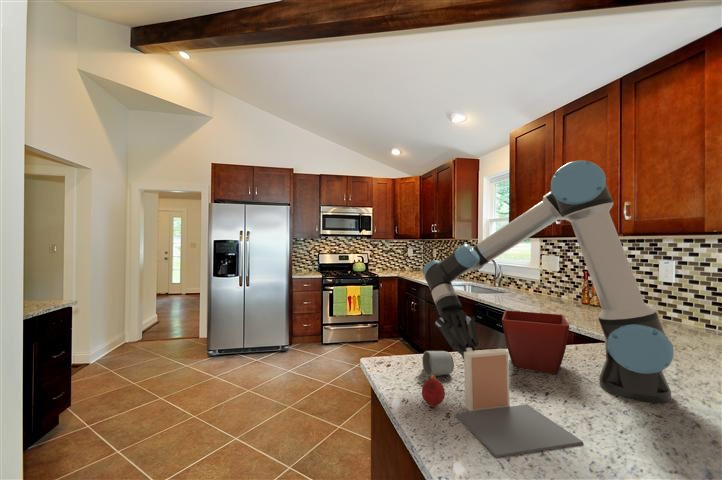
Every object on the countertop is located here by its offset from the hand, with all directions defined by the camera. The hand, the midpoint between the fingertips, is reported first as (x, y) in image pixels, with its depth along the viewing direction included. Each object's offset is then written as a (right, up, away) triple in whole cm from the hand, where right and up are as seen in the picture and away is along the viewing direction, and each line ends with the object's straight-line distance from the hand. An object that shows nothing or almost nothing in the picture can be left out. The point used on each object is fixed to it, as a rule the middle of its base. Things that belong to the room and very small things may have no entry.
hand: (476, 372), depth 84 cm
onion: (-13, -7, -4) cm, 15 cm away
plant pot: (+29, -8, +23) cm, 38 cm away
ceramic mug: (-7, -8, +18) cm, 21 cm away
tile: (+1, -7, -5) cm, 8 cm away
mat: (+3, -6, -14) cm, 16 cm away
